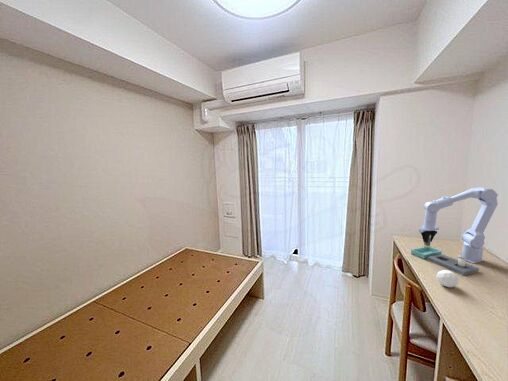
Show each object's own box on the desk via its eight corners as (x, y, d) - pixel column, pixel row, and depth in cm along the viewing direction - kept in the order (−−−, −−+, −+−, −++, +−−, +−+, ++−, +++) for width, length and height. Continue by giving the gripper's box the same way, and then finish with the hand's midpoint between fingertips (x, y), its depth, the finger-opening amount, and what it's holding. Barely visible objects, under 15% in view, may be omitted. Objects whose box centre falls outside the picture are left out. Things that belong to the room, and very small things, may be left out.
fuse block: (440, 256, 132) (441, 253, 132) (478, 271, 115) (478, 268, 115) (426, 259, 129) (427, 256, 128) (463, 275, 112) (463, 272, 111)
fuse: (459, 267, 120) (461, 254, 118) (465, 270, 117) (467, 256, 115) (455, 268, 119) (457, 255, 117) (462, 271, 116) (464, 257, 115)
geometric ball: (445, 292, 103) (439, 282, 100) (436, 278, 109) (431, 268, 107) (464, 288, 99) (459, 278, 97) (454, 274, 106) (449, 264, 104)
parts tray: (427, 250, 141) (428, 246, 141) (441, 255, 134) (441, 251, 133) (411, 253, 137) (411, 249, 136) (424, 259, 129) (424, 254, 129)
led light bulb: (425, 245, 136) (427, 233, 135) (431, 247, 133) (432, 235, 132) (422, 246, 135) (423, 234, 134) (427, 248, 133) (429, 235, 131)
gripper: (431, 218, 138) (428, 237, 140) (414, 220, 133) (412, 240, 136) (443, 221, 131) (440, 241, 133) (426, 223, 127) (424, 245, 129)
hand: (427, 241), depth 134 cm, fingers closed on led light bulb, 3 cm apart
